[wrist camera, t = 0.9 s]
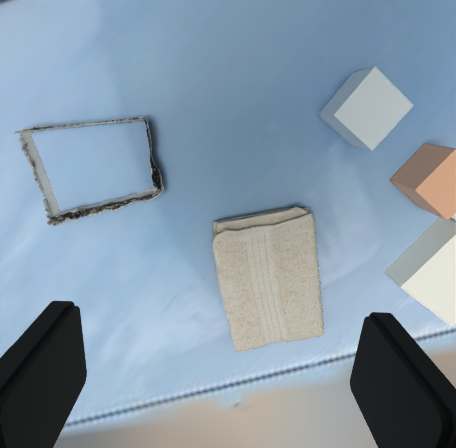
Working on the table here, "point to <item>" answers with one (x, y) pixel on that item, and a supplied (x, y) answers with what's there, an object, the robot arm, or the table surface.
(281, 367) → the table surface
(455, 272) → the base block
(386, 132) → the grey blue block
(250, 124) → the table surface
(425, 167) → the terracotta block
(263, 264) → the washcloth
